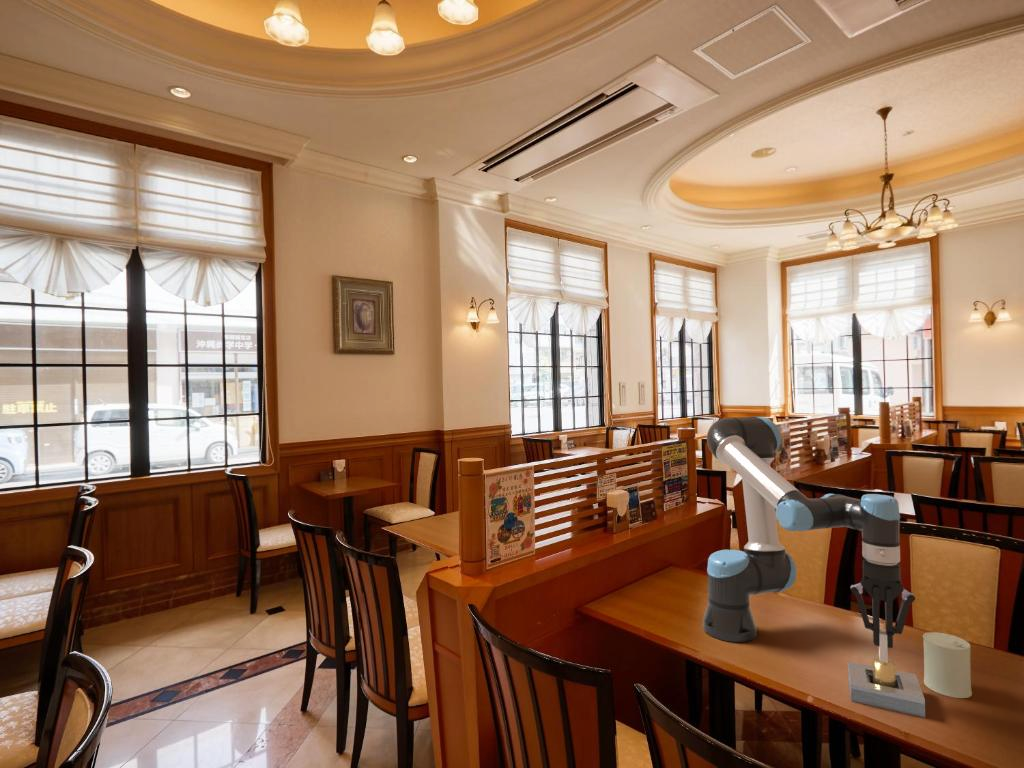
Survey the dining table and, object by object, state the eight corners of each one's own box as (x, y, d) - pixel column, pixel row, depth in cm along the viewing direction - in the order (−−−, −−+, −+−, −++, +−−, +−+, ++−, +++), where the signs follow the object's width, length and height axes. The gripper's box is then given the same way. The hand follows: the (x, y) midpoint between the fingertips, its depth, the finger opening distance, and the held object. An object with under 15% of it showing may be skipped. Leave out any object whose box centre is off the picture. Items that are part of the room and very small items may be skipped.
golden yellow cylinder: (874, 698, 128) (874, 664, 128) (872, 689, 132) (871, 656, 132) (897, 703, 126) (896, 668, 126) (894, 693, 130) (893, 660, 130)
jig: (851, 701, 127) (850, 684, 127) (848, 676, 138) (847, 661, 138) (925, 717, 121) (924, 699, 121) (916, 690, 131) (915, 674, 131)
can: (957, 702, 126) (956, 650, 126) (915, 682, 135) (914, 634, 135) (980, 692, 130) (979, 642, 130) (937, 674, 138) (936, 627, 138)
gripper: (850, 561, 129) (852, 660, 129) (917, 569, 123) (919, 673, 123) (848, 552, 136) (850, 647, 136) (912, 560, 130) (914, 658, 129)
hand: (883, 659), depth 129 cm, fingers closed
